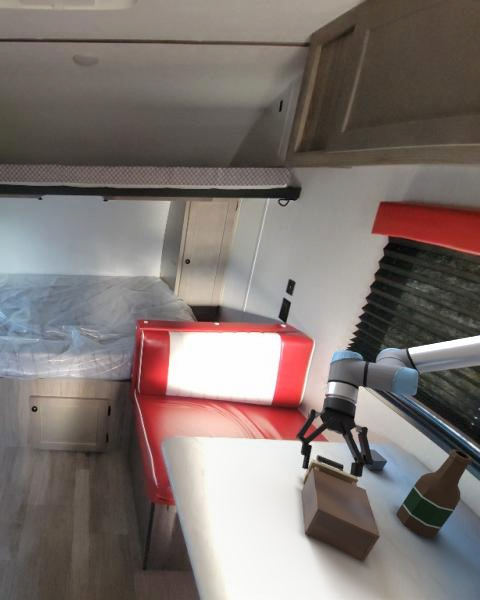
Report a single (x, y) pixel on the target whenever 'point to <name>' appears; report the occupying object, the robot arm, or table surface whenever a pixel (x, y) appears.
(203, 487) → the table surface
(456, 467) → the beer bottle
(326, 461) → the drawer
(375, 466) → the block
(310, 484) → the cabinet
